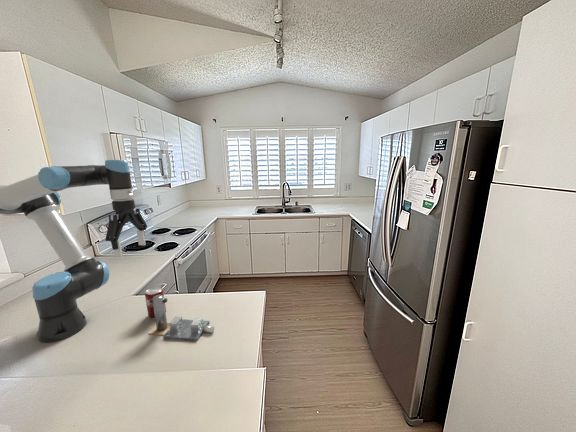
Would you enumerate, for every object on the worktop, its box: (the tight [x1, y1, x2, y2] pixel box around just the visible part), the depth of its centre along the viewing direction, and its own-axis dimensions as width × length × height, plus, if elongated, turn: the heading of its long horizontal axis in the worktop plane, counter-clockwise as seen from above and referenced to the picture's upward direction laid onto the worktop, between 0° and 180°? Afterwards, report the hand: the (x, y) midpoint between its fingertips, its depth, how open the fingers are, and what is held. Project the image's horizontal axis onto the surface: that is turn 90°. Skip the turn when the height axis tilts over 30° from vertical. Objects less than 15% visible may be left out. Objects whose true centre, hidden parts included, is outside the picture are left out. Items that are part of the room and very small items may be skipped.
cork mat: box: [148, 322, 170, 336], centre depth 104 cm, size 7×7×1 cm
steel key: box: [150, 295, 168, 331], centre depth 102 cm, size 6×4×14 cm, turn 94°
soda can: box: [144, 286, 167, 320], centre depth 112 cm, size 7×7×12 cm
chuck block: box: [162, 316, 215, 342], centre depth 102 cm, size 18×11×4 cm, turn 84°
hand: (131, 250), depth 104 cm, fingers open, 13 cm apart
